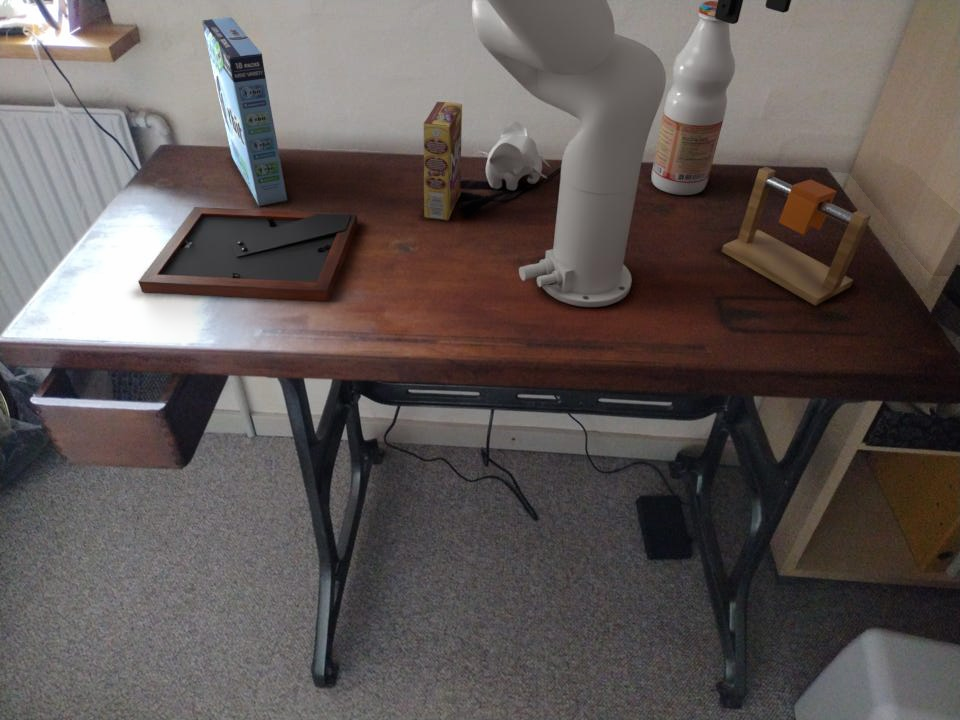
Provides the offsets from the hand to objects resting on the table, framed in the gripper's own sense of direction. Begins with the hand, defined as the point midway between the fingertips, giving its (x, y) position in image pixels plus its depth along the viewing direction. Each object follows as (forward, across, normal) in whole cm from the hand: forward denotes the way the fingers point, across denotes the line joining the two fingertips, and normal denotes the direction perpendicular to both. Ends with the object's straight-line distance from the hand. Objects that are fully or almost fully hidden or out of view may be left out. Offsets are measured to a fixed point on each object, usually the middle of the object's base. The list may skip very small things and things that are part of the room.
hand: (751, 15), depth 86 cm
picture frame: (+31, -60, +29) cm, 73 cm away
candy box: (+31, -30, +27) cm, 50 cm away
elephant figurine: (+31, -16, +27) cm, 44 cm away
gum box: (+31, -51, +52) cm, 79 cm away
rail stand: (+30, +1, -15) cm, 34 cm away
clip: (+23, +1, -15) cm, 28 cm away
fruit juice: (+31, +8, +12) cm, 34 cm away
